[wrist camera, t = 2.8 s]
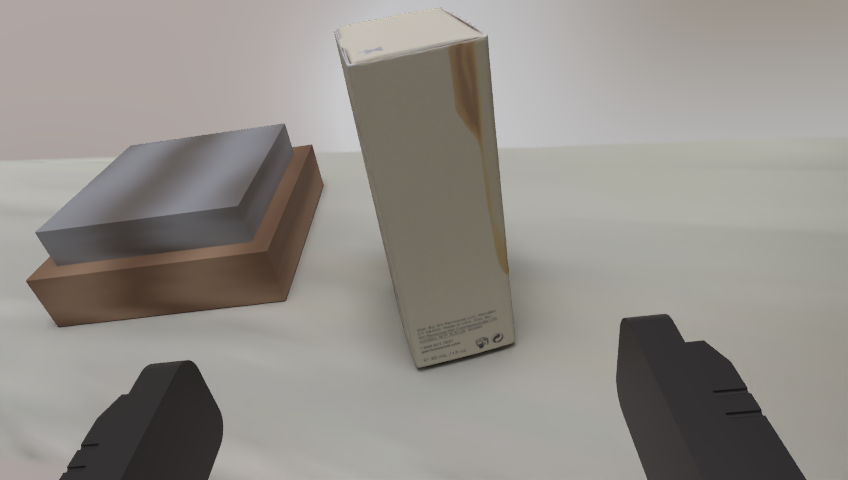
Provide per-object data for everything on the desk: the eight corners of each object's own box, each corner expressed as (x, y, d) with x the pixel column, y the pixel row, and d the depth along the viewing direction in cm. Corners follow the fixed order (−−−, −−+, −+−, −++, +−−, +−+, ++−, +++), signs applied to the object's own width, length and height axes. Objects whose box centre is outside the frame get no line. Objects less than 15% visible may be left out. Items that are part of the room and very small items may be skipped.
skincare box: (519, 346, 22) (497, 34, 15) (414, 374, 21) (345, 66, 15) (474, 259, 27) (444, -1, 20) (390, 280, 27) (331, 22, 20)
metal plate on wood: (323, 185, 37) (303, 115, 34) (285, 300, 27) (253, 214, 24) (155, 207, 38) (122, 141, 35) (58, 326, 28) (1, 246, 25)
